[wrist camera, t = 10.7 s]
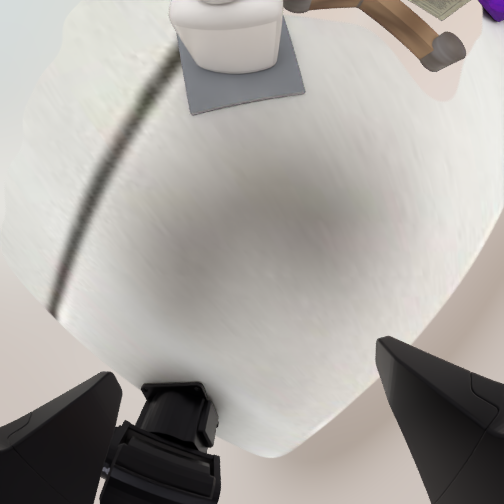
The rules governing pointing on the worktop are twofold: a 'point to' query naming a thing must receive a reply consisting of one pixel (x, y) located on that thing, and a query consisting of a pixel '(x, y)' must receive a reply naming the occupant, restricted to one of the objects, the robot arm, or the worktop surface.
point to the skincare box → (440, 7)
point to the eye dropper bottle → (229, 33)
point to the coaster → (241, 80)
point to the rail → (398, 28)
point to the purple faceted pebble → (494, 8)
